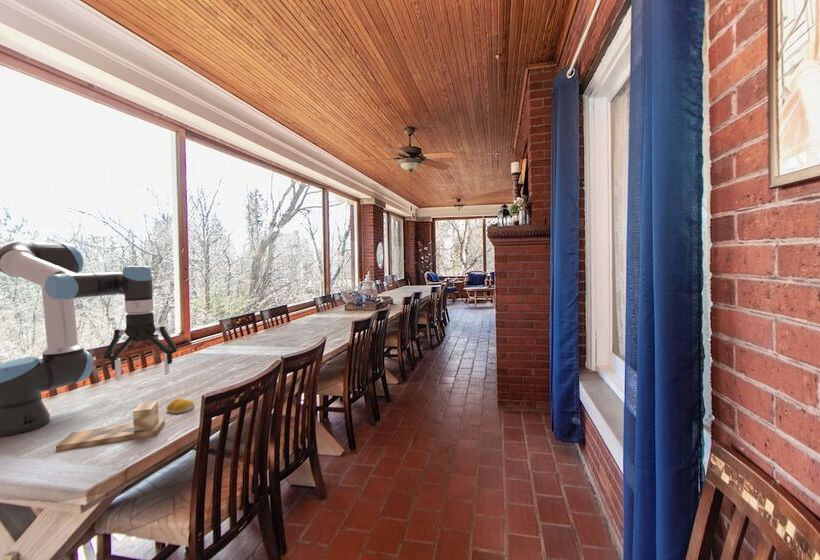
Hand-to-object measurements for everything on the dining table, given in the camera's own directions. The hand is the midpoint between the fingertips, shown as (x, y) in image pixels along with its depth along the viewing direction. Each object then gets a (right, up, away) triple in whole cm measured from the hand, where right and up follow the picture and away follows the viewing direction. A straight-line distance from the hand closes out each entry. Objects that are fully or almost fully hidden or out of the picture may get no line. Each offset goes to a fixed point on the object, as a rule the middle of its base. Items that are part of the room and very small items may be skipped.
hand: (143, 376), depth 126 cm
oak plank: (-8, -19, -2) cm, 21 cm away
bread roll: (+1, -18, +19) cm, 26 cm away
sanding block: (+1, -17, +1) cm, 17 cm away
